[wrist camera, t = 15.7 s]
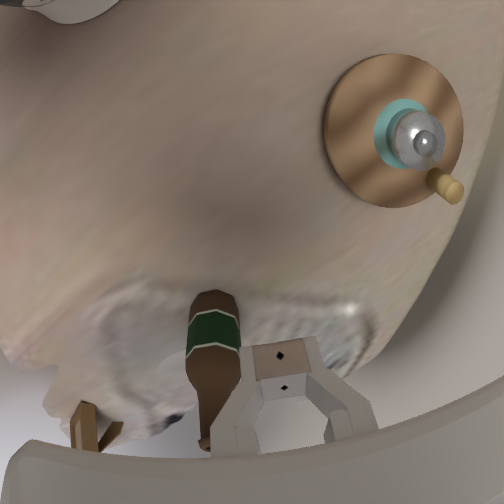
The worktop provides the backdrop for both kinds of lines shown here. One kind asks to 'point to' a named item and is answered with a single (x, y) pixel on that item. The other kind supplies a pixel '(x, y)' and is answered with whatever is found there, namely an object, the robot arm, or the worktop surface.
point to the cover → (416, 138)
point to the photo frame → (90, 430)
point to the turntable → (375, 126)
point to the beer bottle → (213, 355)
